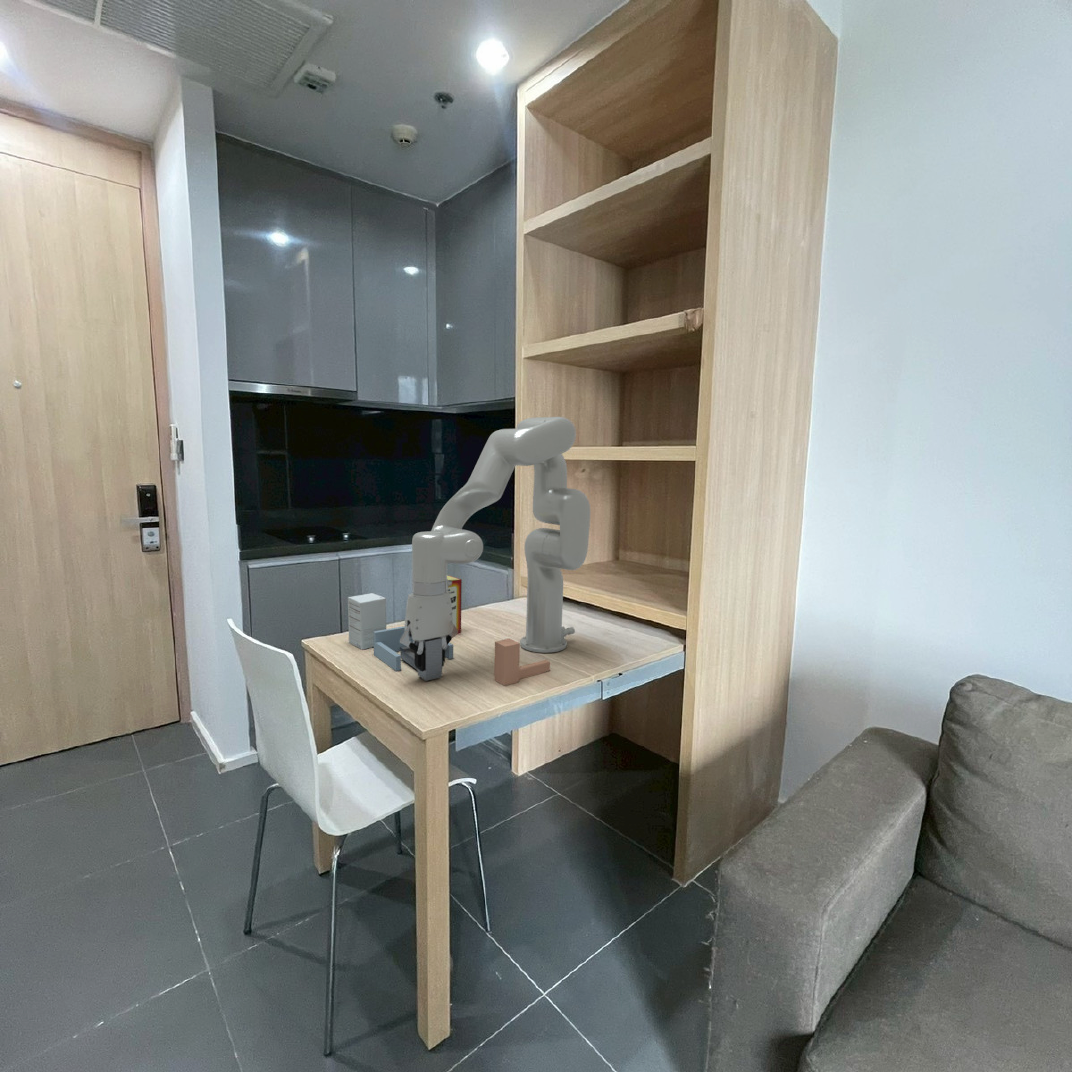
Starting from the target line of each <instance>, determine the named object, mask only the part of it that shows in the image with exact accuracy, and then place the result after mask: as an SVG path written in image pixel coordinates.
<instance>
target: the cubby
mask: <svg viewBox="0 0 1072 1072" xmlns="http://www.w3.org/2000/svg"><path fill="white" fill-rule="evenodd" d="M404 632H405V625H404V626H396V627H392V628H386V629H385V630H379V631H374V647H373V655H374V657H376V658H377V659H379V660H380V661H382V662H383V663H385V665H387V666H388V667H390V668H391V669H392V670H394V671H395V672H398V671H402V659H401V656H400V654H399V653H398V652H400V647H404V646H405V645H403V644H402V643H400V639H401V637H402V635H403V634H404ZM409 641H411V642H413V641H414V640H413V639H412V637H410V638H409ZM445 659H448V660H453V659H454V644H452V643H451V642H449V643H448V645H447V648H446V649H445Z"/></svg>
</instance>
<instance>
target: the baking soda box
mask: <svg viewBox="0 0 1072 1072" xmlns="http://www.w3.org/2000/svg"><path fill="white" fill-rule="evenodd" d="M447 579H448V580H451V581H452V585H451V586H449V587H448V590H447V592H449V594H450V599H451V604H452V612H453V624H454V625H455V627H456V628H457V630H458V634H457V635H459V634H462V589H463V588H462V586H463V585H462V579H461V578H459V577H455V576H452V575H448V574H447Z"/></svg>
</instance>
